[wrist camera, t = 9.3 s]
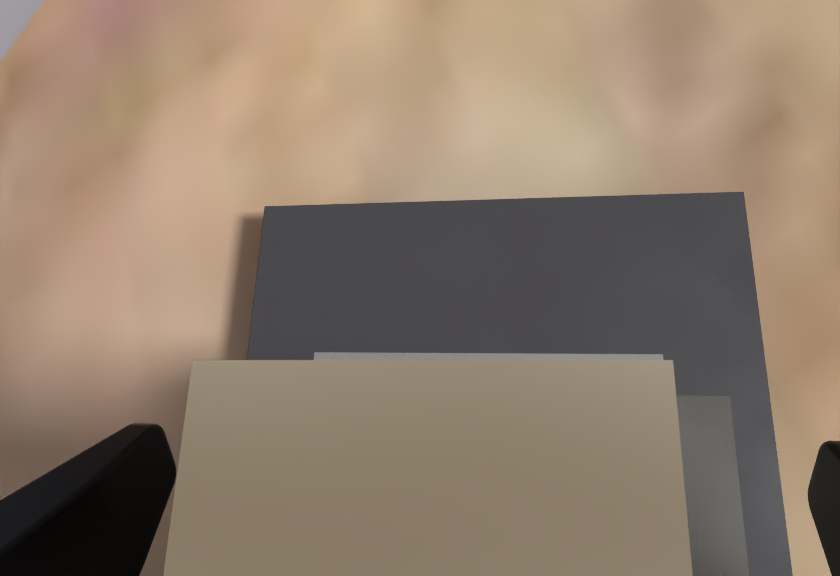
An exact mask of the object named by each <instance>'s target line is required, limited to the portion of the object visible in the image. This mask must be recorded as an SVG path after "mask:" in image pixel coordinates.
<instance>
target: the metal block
mask: <svg viewBox="0 0 840 576" xmlns="http://www.w3.org/2000/svg"><path fill="white" fill-rule="evenodd" d="M163 576H693V573H692V562H691V551H690V540H689V529H688V518H687V507H686V497H685V486H684V475H683V464H682V453H681V442H680V431H679V420H678V409H677V398H676V387H675V377H674V366H673V360H192V366H191V374H190V381H189V388H188V396H187V403H186V410H185V418H184V425H183V433H182V440H181V447H180V455H179V462H178V469H177V477H176V484H175V491H174V499H173V506H172V514H171V521H170V528H169V536H168V543H167V550H166V558H165V565H164V572H163Z"/></svg>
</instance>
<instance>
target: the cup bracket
mask: <svg viewBox="0 0 840 576" xmlns="http://www.w3.org/2000/svg"><path fill="white" fill-rule="evenodd" d="M247 360H673V366H674V377H675V387H676V398H677V409H678V420H679V431H680V442H681V453H682V464H683V475H684V486H685V497H686V507H687V518H688V529H689V540H690V551H691V562H692V573H693V576H793V575H792V568H791V560H790V552H789V544H788V536H787V528H786V521H785V513H784V505H783V497H782V489H781V481H780V473H779V466H778V458H777V450H776V442H775V434H774V426H773V419H772V411H771V403H770V395H769V387H768V379H767V371H766V364H765V356H764V348H763V340H762V332H761V324H760V317H759V309H758V301H757V293H756V285H755V277H754V269H753V262H752V254H751V246H750V238H749V230H748V222H747V215H746V207H745V199H744V192H724V193H692V194H659V195H626V196H593V197H560V198H527V199H495V200H462V201H429V202H396V203H363V204H331V205H298V206H265V209H264V217H263V226H262V234H261V243H260V251H259V260H258V269H257V277H256V286H255V294H254V303H253V311H252V320H251V328H250V337H249V346H248V354H247Z"/></svg>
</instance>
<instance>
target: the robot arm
mask: <svg viewBox="0 0 840 576" xmlns="http://www.w3.org/2000/svg"><path fill="white" fill-rule="evenodd" d="M175 478H176V466H175V462H174V459H173V456H172V453H171V450H170V447H169V444H168V441H167V438H166V435H165V432H164V430H163V429H162V428H161V426H159V425H157V424H145V423H135V424H130V425H128V426H126V427H125V428H123V429H121V430H119V431H118V432H116V433H114V434H113V435H111V436H109V437H108V438H106V439H104V440H102V441H101V442H99V443H97V444H96V445H94V446H92V447H90V448H89V449H87V450H85V451H84V452H82V453H80V454H79V455H77V456H75V457H73V458H72V459H70V460H68V461H67V462H65V463H63V464H61V465H60V466H58V467H56V468H55V469H53V470H51V471H50V472H48V473H46V474H44V475H43V476H41V477H39V478H38V479H36V480H34V481H33V482H31V483H29V484H27V485H26V486H24V487H22V488H21V489H19V490H17V491H15V492H14V493H12V494H10V495H9V496H7V497H5V498H4V499H2V500H0V576H139V575H140V572H141V570H142V568H143V565H144V563H145V560H146V557H147V555H148V552H149V549H150V547H151V544H152V541H153V539H154V536H155V533H156V531H157V528H158V525H159V523H160V520H161V517H162V515H163V512H164V509H165V507H166V504H167V501H168V499H169V496H170V493H171V491H172V488H173V485H174V482H175ZM808 501H809V507H810V510H811V513H812V516H813V519H814V522H815V525H816V528H817V531H818V534H819V537H820V541H821V544H822V547H823V550H824V553H825V556H826V559H827V562H828V565H829V568H830V571H831V574H832V576H840V441H827V442H825V443H823V444H822V445H821V447H820V449H819V452H818V455H817V459H816V462H815V466H814V470H813V473H812V477H811V480H810V484H809V488H808Z"/></svg>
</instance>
